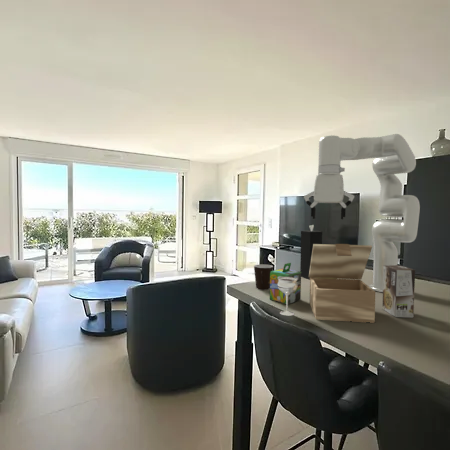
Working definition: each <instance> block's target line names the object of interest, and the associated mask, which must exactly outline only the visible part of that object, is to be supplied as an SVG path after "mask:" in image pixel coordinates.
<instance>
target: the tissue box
mask: <svg viewBox="0 0 450 450" xmlns="http://www.w3.org/2000/svg"><path fill="white" fill-rule="evenodd" d="M314 227H315V226H314V224H312V225H309V230H300V267H299V268H300V270H299V271H300V272H301V278H305V279H307V280H310V278H311V277H309V271H310V264H311V257H312V250H313V244H323V231H322V230H320V231H319V230H314Z"/></svg>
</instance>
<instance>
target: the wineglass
mask: <svg viewBox="0 0 450 450" xmlns="http://www.w3.org/2000/svg"><path fill="white" fill-rule="evenodd" d="M278 280H279V281H278V283H277V286H278V288H279V290H280V291H281V292H283V293H285V295H286V304H285V310H281V311H279V314H280V315H281V316H289V317H290V316H294V315H295V313H294V312H293V311H290V310H288V307H289V304H288V295H290V294H291V293H293V292H294V291H295V290H296V289H297V282H296V281H297V278H294V277H278Z"/></svg>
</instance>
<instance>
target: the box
mask: <svg viewBox="0 0 450 450" xmlns="http://www.w3.org/2000/svg"><path fill="white" fill-rule="evenodd" d="M309 305H310V309H311V311H312V314H313V315H314V319H315V320H317V321H318V320H319V321H321V320H322V321H337V322H350V321H352V322H353V323H366V322H370V323H371V324H374V323H375V322H376V321H375V319H376V317H375V316H376V291H374V290H373V289H371V288H370V287H369V285H368V284H367V283H365V282H364V281H363V280H362V279H331V278H310V279H309ZM370 323H369V324H370Z"/></svg>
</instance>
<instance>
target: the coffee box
mask: <svg viewBox="0 0 450 450" xmlns="http://www.w3.org/2000/svg"><path fill="white" fill-rule="evenodd" d="M415 279H416V269H413V268H410V267H407V266H403V265H398V264H397V265H389V266H383V292H382V310H383V311H385V312H386V313H388V314H390V315H391V316H393V317H395V318H410V319H411V318H414V311H415V309H414V308H415V307H414V306H415V287H416V286H415V285H416V284H415V281H416V280H415Z"/></svg>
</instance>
